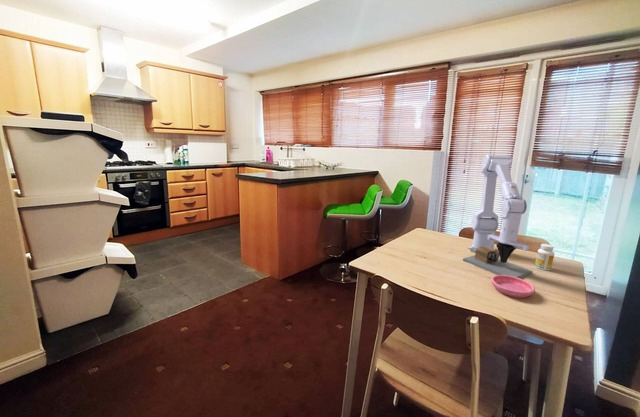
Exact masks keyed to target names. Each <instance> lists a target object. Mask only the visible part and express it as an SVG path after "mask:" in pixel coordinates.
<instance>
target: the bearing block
mask: <svg viewBox="0 0 640 417" xmlns="http://www.w3.org/2000/svg"><path fill="white" fill-rule="evenodd" d="M497 250H498V249H496V250H495V248H494V249H493V248H490V247H487V246H483V247H479V248H476V253H474V255H475V259H476V260H479V261H481V262H484V263H489V262H493V261H491V259H490V258H489V255H490V253H492V254H493V253H497Z"/></svg>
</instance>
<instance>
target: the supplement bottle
mask: <svg viewBox="0 0 640 417" xmlns="http://www.w3.org/2000/svg"><path fill="white" fill-rule="evenodd" d="M554 247H555V246H554V245H552V244H548V243H541V244H540V248H539V249H537V253H536V258H535V263H534V267H535V268H537V269H538V270H541V271H551V270H552V266H553V263H554V258H555V252H554Z"/></svg>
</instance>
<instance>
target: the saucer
mask: <svg viewBox="0 0 640 417" xmlns="http://www.w3.org/2000/svg"><path fill="white" fill-rule="evenodd" d="M490 281H491V284H492V286H493V287H494V288H495V290H497V291H498V293H499V292H500V293H501V294H503V295H504V296H509V297H511V298H515V299H516V298H517V299H525V298H528V297H530V296H532V295H533V294H534V293H535V291H536V287H535V286H534V285H533V284H532V283H531V282H529V281H527V280H525V279H522V278H517V277H513V276H509V275H497V274H494V275H493V276H491V279H490Z"/></svg>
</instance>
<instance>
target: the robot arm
mask: <svg viewBox="0 0 640 417" xmlns="http://www.w3.org/2000/svg"><path fill="white" fill-rule="evenodd" d="M512 165H513V158H512V156H511V155H510V154H507V155H504V154H503V155H502V154H485V156H483V159H482V162H481V170H480V171H481V174H483V176H484V178H483V185H482V186H483V187H482V196H481V202H480V203H481V205H480V210H478V211H476V212H474V214H473V216H472V219H471V229H473V231H474V232H473V233H474V234H473V240H472V244H471V245H470V246H467V248H468V249H470V250H471V248H472V247H475V248H479V247H483V246H487V247H490V248H493V249H495V243H497V244H496V248H497V249H495V250H498V254H499V259H500V262H502V263H506V262H508V260H509V258H510V256H511V255H512V254H513V252H514V251H515V250H516V249H519V250H522V251H524V252H528V251H529V248H530V245H528V244H526V243H523V242H520V241H518V235H519V230H520V224H521V219H522V215H524V214H525V212H526V211H527V207H528V204H527V203H528V202H527V200H526V199H525V198H523V196H521V195H520V192H519V188H518V186H517V184H516V183H515V182H513V179H512V174H511V166H512ZM497 177H498V178H497ZM498 179H499V181H500V184H501V185H500V187H499V191H500V195H501V197H502V203H501V217H502V220H501V226H500V224H499V223H500V222H499V216H498V214H497V213H496V212H494V206H495V197H496V186H497V180H498ZM499 226H500V232H499V235H497V234H496V233H495V232H496V231H497V230H499Z"/></svg>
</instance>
